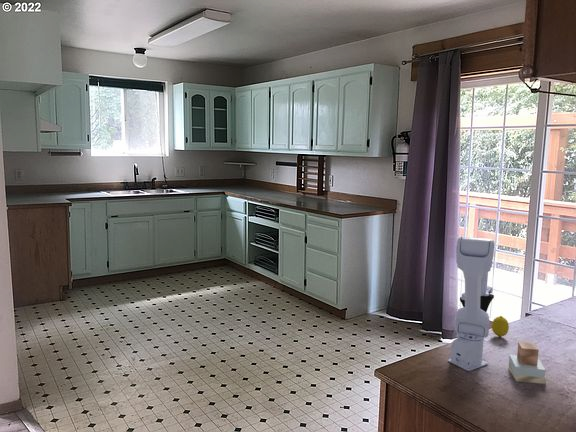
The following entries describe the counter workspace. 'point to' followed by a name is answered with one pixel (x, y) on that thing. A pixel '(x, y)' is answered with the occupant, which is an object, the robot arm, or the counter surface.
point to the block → (527, 353)
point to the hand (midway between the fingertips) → (475, 316)
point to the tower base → (527, 378)
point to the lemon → (500, 326)
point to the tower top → (526, 368)
